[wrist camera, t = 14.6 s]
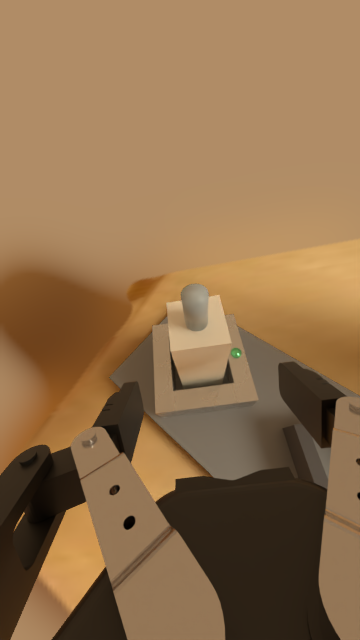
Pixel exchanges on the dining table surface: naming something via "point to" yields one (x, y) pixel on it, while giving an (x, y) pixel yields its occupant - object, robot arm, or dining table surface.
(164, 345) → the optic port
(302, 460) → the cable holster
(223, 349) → the plug
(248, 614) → the robot arm
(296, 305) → the dining table surface
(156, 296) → the dining table surface
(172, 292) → the dining table surface
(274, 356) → the port board
